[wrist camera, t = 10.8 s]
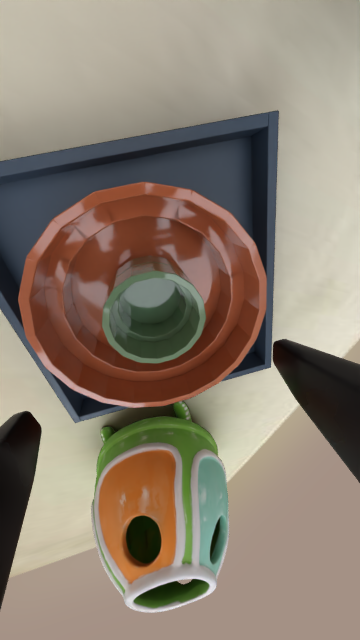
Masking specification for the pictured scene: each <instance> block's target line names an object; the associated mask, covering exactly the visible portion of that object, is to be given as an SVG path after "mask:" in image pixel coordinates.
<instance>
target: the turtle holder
mask: <svg viewBox="0 0 360 640" xmlns="http://www.w3.org/2000/svg"><path fill="white" fill-rule="evenodd" d="M173 408H174V411H175V414H176V417H177V418H174V417H168V416H162V417H152V418H147V419H143V420H140V421H137V422H135V423H133V424H130V425H128V426H126V427H124V428H122V429H120V430H119V431H117V432H115V430H114V429H113V428H112V427H104V428H102V429H101V437H102V440H103V442H104V446H103V447H102V449H101V451H100V454H99V457H98V461H97V478H96V484H95V493H94V500H93V502H92V506H91V517H92V527H93V533H94V538H95V542H96V546H97V550H98V553H99V557H100V559H101V561H102V564H103V567H104V569H105V570H106V573H107V574H108V576H109V578H110V579H111V581H112V583H113V584H114V586H115V587H116V588H117V589H118V591H119V592H120V593H121V594H122V596H123V598H124V601H125V604H126V605H127V606H128V607H129V608H131V609H133V610H137V611H140V612H160V611H166V610H170V609H174V608H177V607H180V606H183V605H186V604H188V603H191V602H193V601H196V600H199V599H201V598H203V597H205V596H207V595H209V594H210V593H212V592H213V591H214V590H215V588H216V586H217V577H218V574H219V572H220V569H221V566H222V564H223V560H224V557H225V554H226V550H227V545H228V538H229V516H228V493H227V480H226V472H225V468H224V465H223V463H222V461H221V460H220V458H219V457H218V449H217V445H216V443H215V441H214V439H213V438H212V436H211V434H210V433H208V432H207V431H206V430H205V429H204V428H202V427H201V426H199V425H198V424H196V423H193V422H192V420H191V415H190V412H189V409H188V407H187V405H186V404H185V403H184V402H183V401H179V402H176V403H174V405H173ZM183 579H192V581H191V582H189V583H187V584H184V585H183V584H180V583H179V582H177V580H183Z"/></svg>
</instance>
